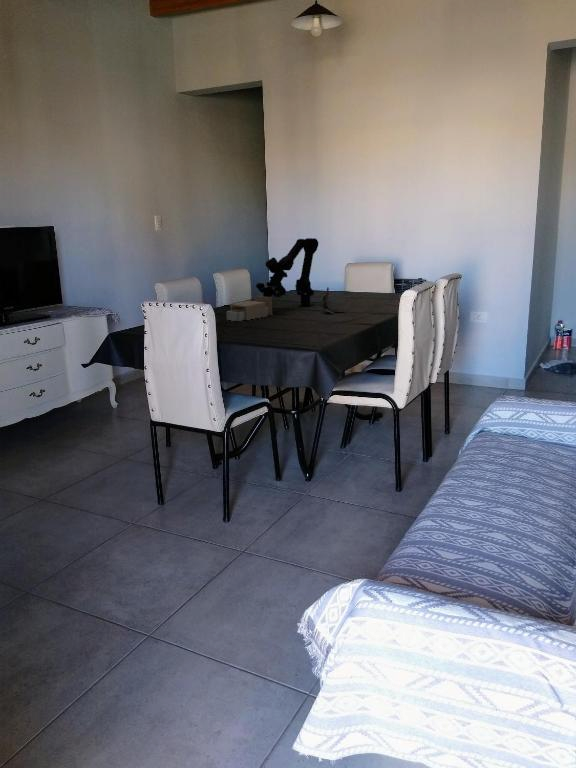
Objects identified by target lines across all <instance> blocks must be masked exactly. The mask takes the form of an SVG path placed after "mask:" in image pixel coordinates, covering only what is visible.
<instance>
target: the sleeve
mask: <svg viewBox="0 0 576 768" xmlns="http://www.w3.org/2000/svg"><path fill="white" fill-rule="evenodd" d="M229 306H230V310H229V311H231V310H236V309H241V308H246V320H250V319H254V320H256V319H255V318H259V319H262V318H261V317H263V318H266V317H267V316H266V307H265V302H257V301H254V300H245V301H241V302H235V303H230V304H229ZM250 321H251V320H250Z"/></svg>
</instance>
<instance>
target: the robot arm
mask: <svg viewBox="0 0 576 768" xmlns="http://www.w3.org/2000/svg"><path fill="white" fill-rule="evenodd" d="M318 247H319V241H318V239H317V238H314V237H313V238H309V237H307V238H297V240H296V242H295V243H294V245H293V246H292V247H291V249H290V250H288V251H289V252H288V253H287V254H285V256H283V257H282V258H280V259H279V261H278V260H277V259H276V257H271V258H270V259H268V260H267V261H266V262H265V267H266V268H267V269H268V271H269V273H272V276H269V279H270V280H269V281H267V282H266V283H265V284H264V283H263V282H258V283H257V282H256V285H255V287H256V288H257V290H258V291H259V292H260V293H262V296H263V297H272V296H274V298H281V297H282V296H285V294H286V293H287V289H286V288H285V287H284V285H283V284H282V281H283V279H284V278H288V273H287V272H286V271H291V269H292V268H293V266H294V264H295V263H294V261H295V259H296V258H297V256H298V255H299V254H300V253H301V251H302V250H303V251H304V257H303V261H302V262H303V263H302V268H301V275H300V278H299V279H296V280H295V286H294V287H295V291H296V295H297V296H300V304H298V307H311V306H313V305H314V304H313V303H311V297H313V296H314V293H315V291H314V290H313V288H312V287H311V285H312V283H311V281H310V275H311V270H312V265H313V259H314V258H313V257H314V255H315V253H316V251H318Z"/></svg>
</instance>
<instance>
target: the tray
mask: <svg viewBox="0 0 576 768" xmlns="http://www.w3.org/2000/svg"><path fill="white" fill-rule="evenodd" d="M252 296H253V301H257V302H265V307H266V317H268V316H267V315H270V317H272V316H273V299H272V296H271V297H263V295H262V296H261V295H252ZM225 314H226V321H228V320H231V321H230V322H234V321H241V322H243V321H242V320H246V308H241V309H236V310H227V311H226V312H225ZM271 315H272V316H271Z"/></svg>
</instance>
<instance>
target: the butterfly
mask: <svg viewBox="0 0 576 768" xmlns="http://www.w3.org/2000/svg"><path fill="white" fill-rule="evenodd" d="M329 292H330V290H329V287H327V288H326V291H325V293H324V294H322V295H321V298H320V299H321V300H320V303H318V306H319V307H321V308H323V313H325V312H328V313H331V314H333V315H334V313H335V314H336V312H342V313H344V310H341V309H338V308H337V309H335V308H332V307H334V306H331V307H329V305H328V302H329V298H330V296H329V295H330V293H329ZM332 303H334V302H331V304H332ZM334 311H336V312H334Z"/></svg>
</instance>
